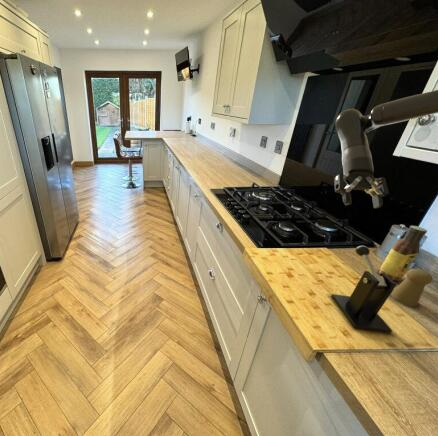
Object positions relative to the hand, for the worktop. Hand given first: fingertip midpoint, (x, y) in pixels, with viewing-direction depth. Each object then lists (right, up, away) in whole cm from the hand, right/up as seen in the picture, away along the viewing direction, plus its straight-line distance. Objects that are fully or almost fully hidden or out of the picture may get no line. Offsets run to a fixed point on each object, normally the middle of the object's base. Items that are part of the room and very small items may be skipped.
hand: (363, 206), depth 75 cm
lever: (-5, -19, -6) cm, 20 cm away
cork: (+14, -30, +1) cm, 33 cm away
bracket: (-6, -32, -5) cm, 33 cm away
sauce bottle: (+20, -25, +11) cm, 34 cm away
